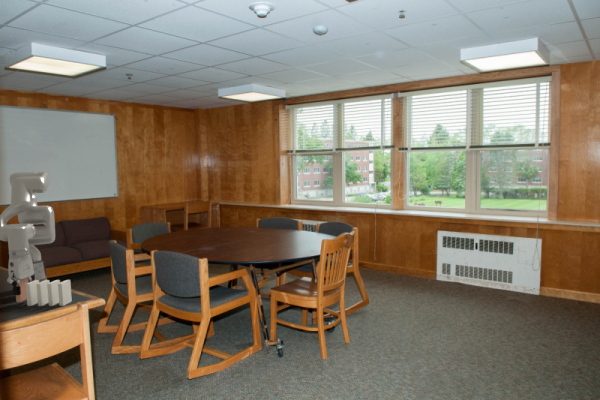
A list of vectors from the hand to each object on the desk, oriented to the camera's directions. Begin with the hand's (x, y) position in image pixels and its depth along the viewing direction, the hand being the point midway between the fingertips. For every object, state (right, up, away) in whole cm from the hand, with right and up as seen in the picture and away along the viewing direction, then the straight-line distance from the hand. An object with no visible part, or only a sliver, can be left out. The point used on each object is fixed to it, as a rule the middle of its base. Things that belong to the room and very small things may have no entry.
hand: (22, 292), depth 186 cm
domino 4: (+15, -5, 0) cm, 16 cm away
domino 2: (+5, -5, 0) cm, 7 cm away
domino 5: (+20, -5, -1) cm, 21 cm away
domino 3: (+10, -5, 0) cm, 11 cm away
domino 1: (0, -4, 0) cm, 4 cm away
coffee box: (-4, -4, +15) cm, 16 cm away
